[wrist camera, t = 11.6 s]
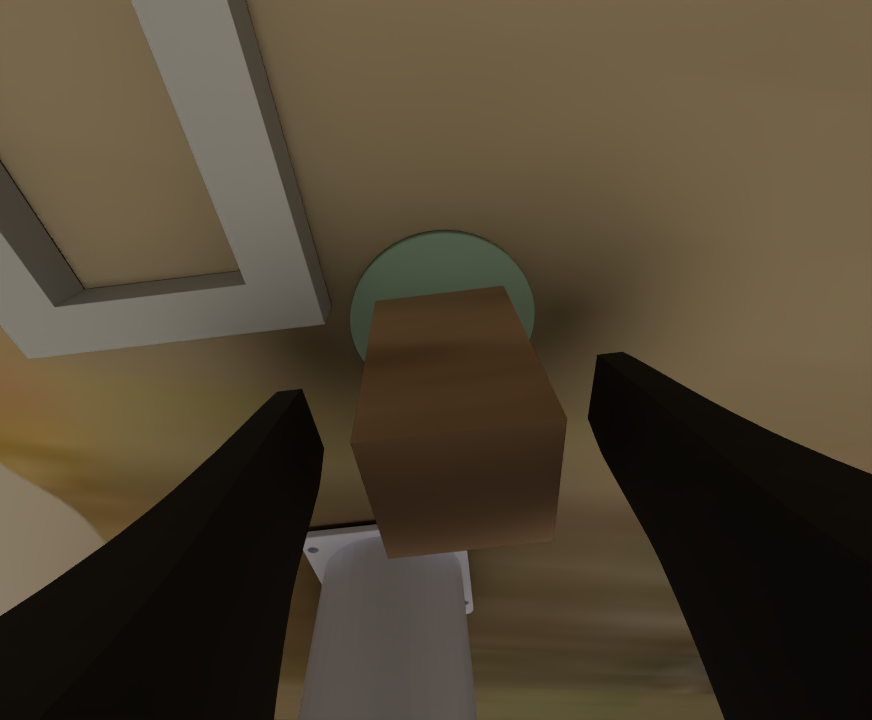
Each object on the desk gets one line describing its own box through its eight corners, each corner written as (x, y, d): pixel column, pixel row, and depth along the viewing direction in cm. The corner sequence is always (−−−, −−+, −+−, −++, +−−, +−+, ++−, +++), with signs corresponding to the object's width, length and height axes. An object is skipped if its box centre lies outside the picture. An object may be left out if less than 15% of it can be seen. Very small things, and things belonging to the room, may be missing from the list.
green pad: (528, 381, 15) (531, 387, 14) (371, 399, 15) (370, 406, 15) (535, 218, 11) (538, 222, 11) (331, 243, 12) (328, 247, 11)
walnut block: (504, 386, 14) (553, 541, 9) (396, 399, 14) (387, 559, 10) (503, 285, 12) (567, 418, 7) (375, 301, 12) (350, 442, 7)
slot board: (331, 306, 13) (324, 324, 12) (58, 338, 13) (28, 359, 12) (129, -410, 6) (72, -511, 5) (-443, -325, 6) (-609, -405, 5)
